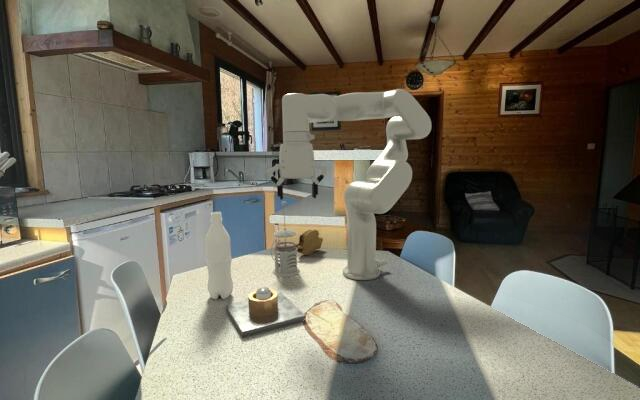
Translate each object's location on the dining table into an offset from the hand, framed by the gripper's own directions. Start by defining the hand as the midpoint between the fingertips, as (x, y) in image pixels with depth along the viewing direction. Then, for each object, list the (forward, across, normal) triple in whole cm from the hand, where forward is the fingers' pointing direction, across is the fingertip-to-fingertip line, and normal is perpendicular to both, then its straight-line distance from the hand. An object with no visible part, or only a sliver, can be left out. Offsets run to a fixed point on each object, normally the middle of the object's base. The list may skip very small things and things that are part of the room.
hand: (297, 198), depth 103 cm
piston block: (+28, +11, +14) cm, 34 cm away
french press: (+28, +3, -17) cm, 33 cm away
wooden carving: (+29, -8, -36) cm, 47 cm away
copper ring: (+27, +11, +14) cm, 32 cm away
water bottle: (+28, +23, -1) cm, 37 cm away
